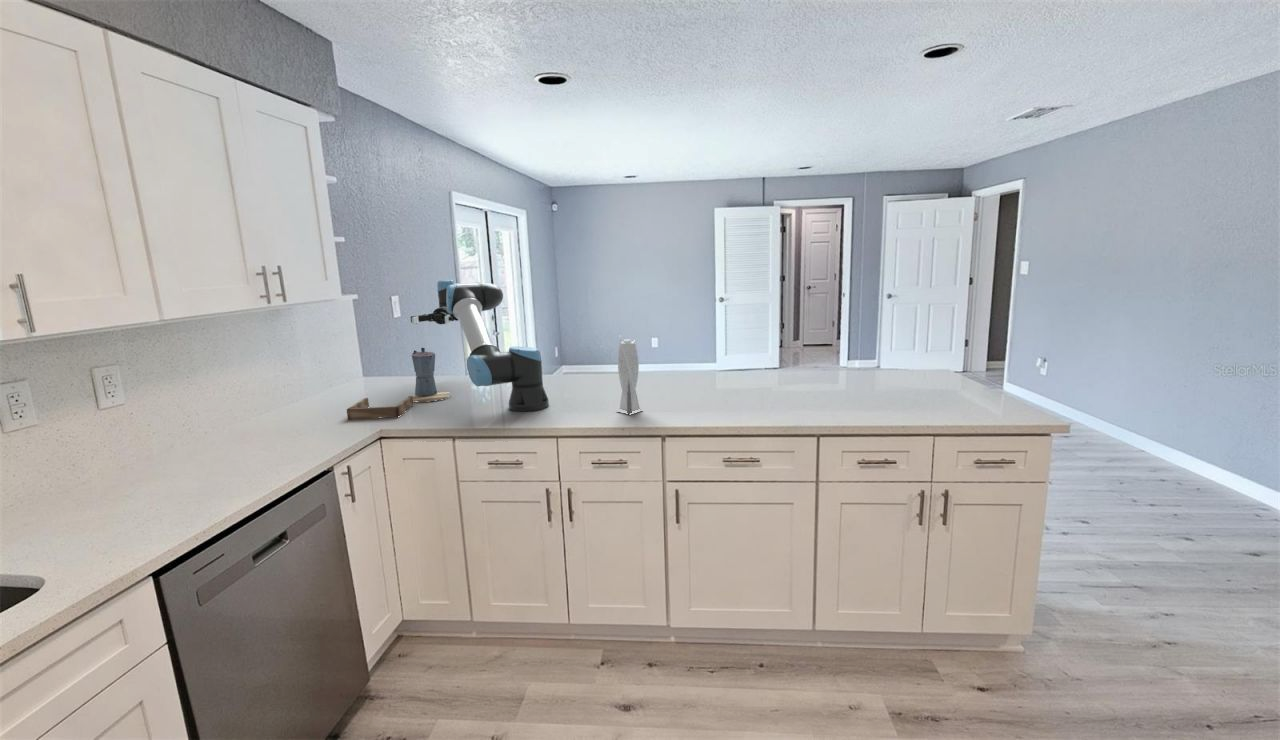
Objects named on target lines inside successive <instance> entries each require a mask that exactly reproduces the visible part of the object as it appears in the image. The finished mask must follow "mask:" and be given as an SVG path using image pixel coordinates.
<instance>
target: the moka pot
mask: <svg viewBox="0 0 1280 740" xmlns="http://www.w3.org/2000/svg"><path fill="white" fill-rule="evenodd" d="M425 349H426V348H425V347H421V348H420V350H421V351H417V350H415V349H414V350H413V353H412V354H411V359H412V364H413V368H414V372H415V390H414V395H417V396H431V395H435V394H436V393H437V391H438V390H437V385H436V380H435V376H434V375H435V368H436V367H435V365H436V362H435V361H436V353H435V352H433V351H426V350H425Z"/></svg>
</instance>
